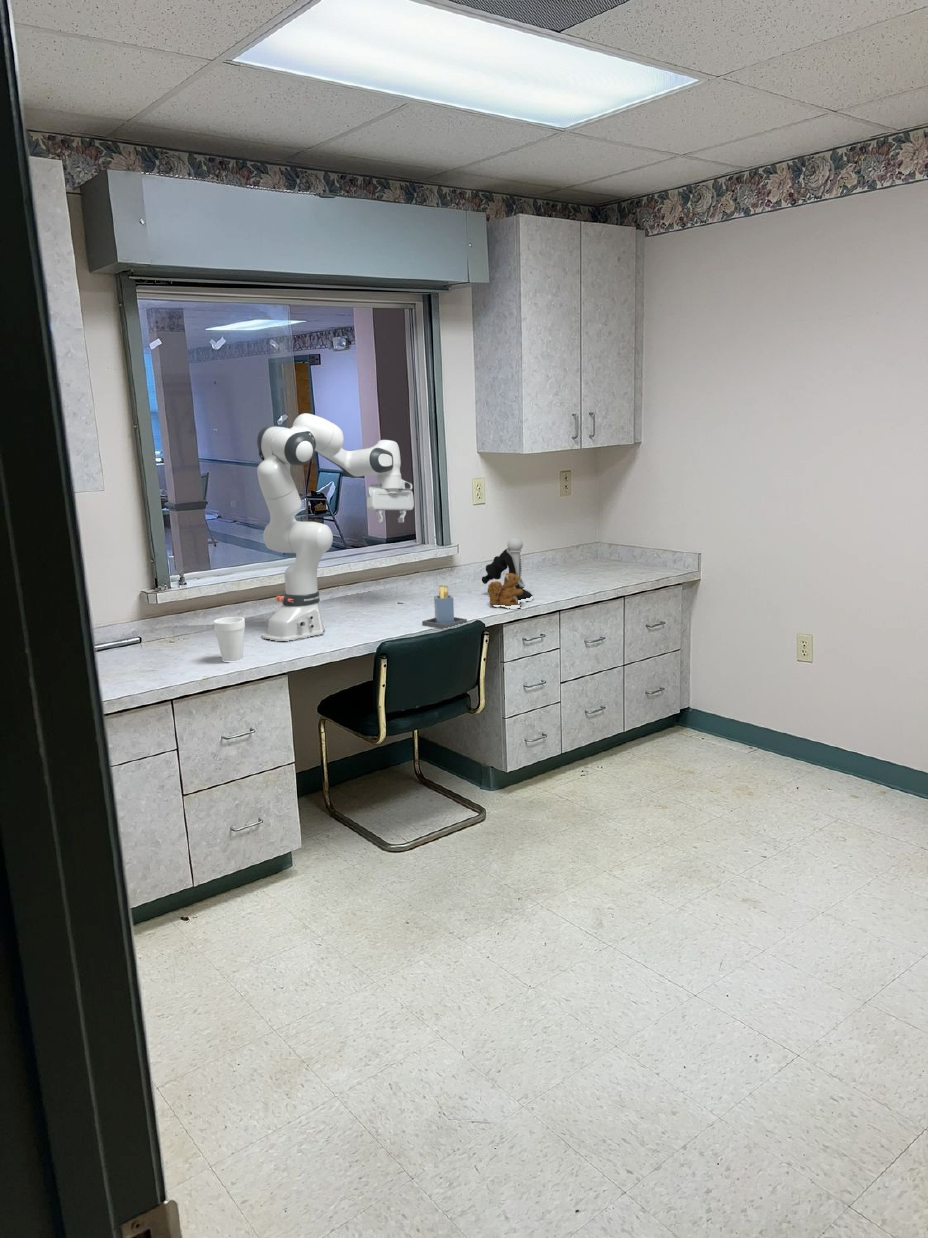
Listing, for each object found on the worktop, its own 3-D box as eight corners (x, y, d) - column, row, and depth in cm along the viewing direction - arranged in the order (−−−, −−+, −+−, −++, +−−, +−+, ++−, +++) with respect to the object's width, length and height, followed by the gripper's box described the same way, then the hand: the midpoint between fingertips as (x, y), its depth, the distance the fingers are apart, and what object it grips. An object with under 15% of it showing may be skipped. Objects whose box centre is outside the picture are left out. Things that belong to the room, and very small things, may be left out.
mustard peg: (442, 623, 324) (442, 587, 321) (439, 623, 325) (439, 587, 322) (445, 623, 325) (445, 586, 322) (442, 622, 326) (441, 586, 323)
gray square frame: (445, 631, 319) (445, 625, 319) (422, 627, 326) (422, 621, 326) (467, 625, 327) (466, 619, 327) (443, 621, 334) (443, 615, 334)
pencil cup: (437, 627, 323) (436, 599, 321) (435, 623, 329) (434, 595, 327) (454, 625, 324) (453, 598, 322) (451, 622, 330) (450, 594, 328)
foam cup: (250, 655, 295) (247, 616, 292) (245, 663, 286) (241, 623, 283) (220, 657, 295) (217, 617, 292) (214, 664, 286) (210, 624, 283)
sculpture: (518, 604, 358) (517, 541, 353) (471, 598, 373) (469, 537, 367) (541, 598, 370) (540, 536, 364) (494, 592, 384) (492, 532, 379)
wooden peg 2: (447, 622, 326) (445, 586, 323) (444, 622, 327) (442, 586, 324) (450, 621, 327) (448, 585, 324) (447, 621, 328) (445, 585, 325)
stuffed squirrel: (522, 609, 350) (521, 575, 347) (485, 609, 352) (484, 575, 349) (524, 604, 359) (524, 571, 356) (488, 604, 361) (487, 571, 358)
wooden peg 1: (442, 622, 326) (441, 586, 324) (438, 621, 327) (438, 585, 325) (444, 621, 327) (444, 585, 325) (441, 621, 328) (441, 585, 326)
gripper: (373, 483, 330) (375, 522, 331) (415, 484, 344) (417, 521, 345) (362, 484, 335) (364, 523, 335) (404, 486, 349) (406, 522, 350)
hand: (391, 522), depth 341 cm, fingers open, 8 cm apart
